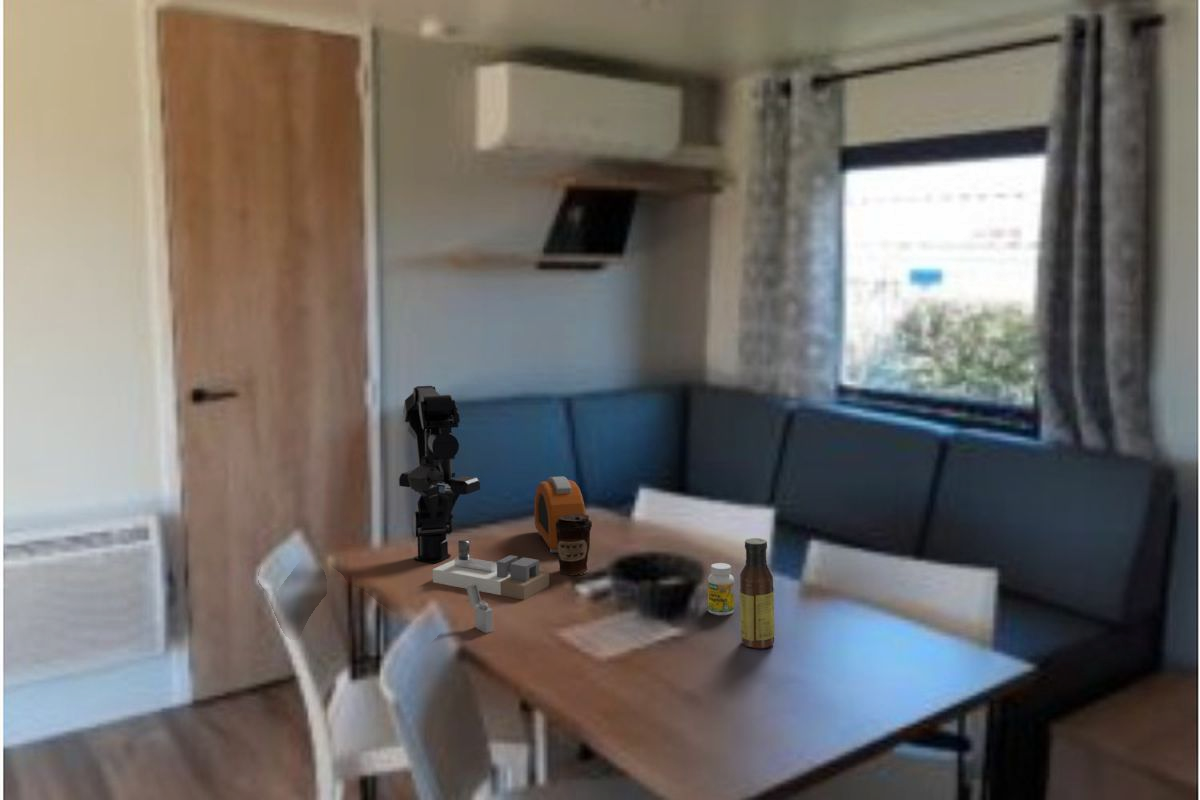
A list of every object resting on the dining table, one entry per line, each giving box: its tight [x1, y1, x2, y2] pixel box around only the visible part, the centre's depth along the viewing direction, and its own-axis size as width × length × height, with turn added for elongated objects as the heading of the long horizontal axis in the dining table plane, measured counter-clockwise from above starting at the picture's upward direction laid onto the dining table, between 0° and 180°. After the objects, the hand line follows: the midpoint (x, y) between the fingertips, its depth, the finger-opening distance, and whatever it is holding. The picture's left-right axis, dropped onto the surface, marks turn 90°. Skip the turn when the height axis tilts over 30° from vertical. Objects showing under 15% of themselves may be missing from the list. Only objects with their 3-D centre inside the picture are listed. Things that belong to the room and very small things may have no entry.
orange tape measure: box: [534, 475, 587, 553], centre depth 252 cm, size 23×9×17 cm, turn 14°
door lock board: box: [432, 554, 550, 600], centre depth 221 cm, size 24×10×6 cm, turn 62°
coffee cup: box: [555, 514, 593, 576], centre depth 229 cm, size 9×8×13 cm
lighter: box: [465, 584, 494, 634], centre depth 196 cm, size 7×2×8 cm, turn 39°
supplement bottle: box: [707, 562, 735, 616], centre depth 204 cm, size 5×5×10 cm
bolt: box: [453, 539, 497, 572], centre depth 222 cm, size 10×2×6 cm, turn 62°
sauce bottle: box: [739, 537, 776, 650], centre depth 186 cm, size 6×6×20 cm
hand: (440, 519), depth 226 cm, fingers open, 3 cm apart
